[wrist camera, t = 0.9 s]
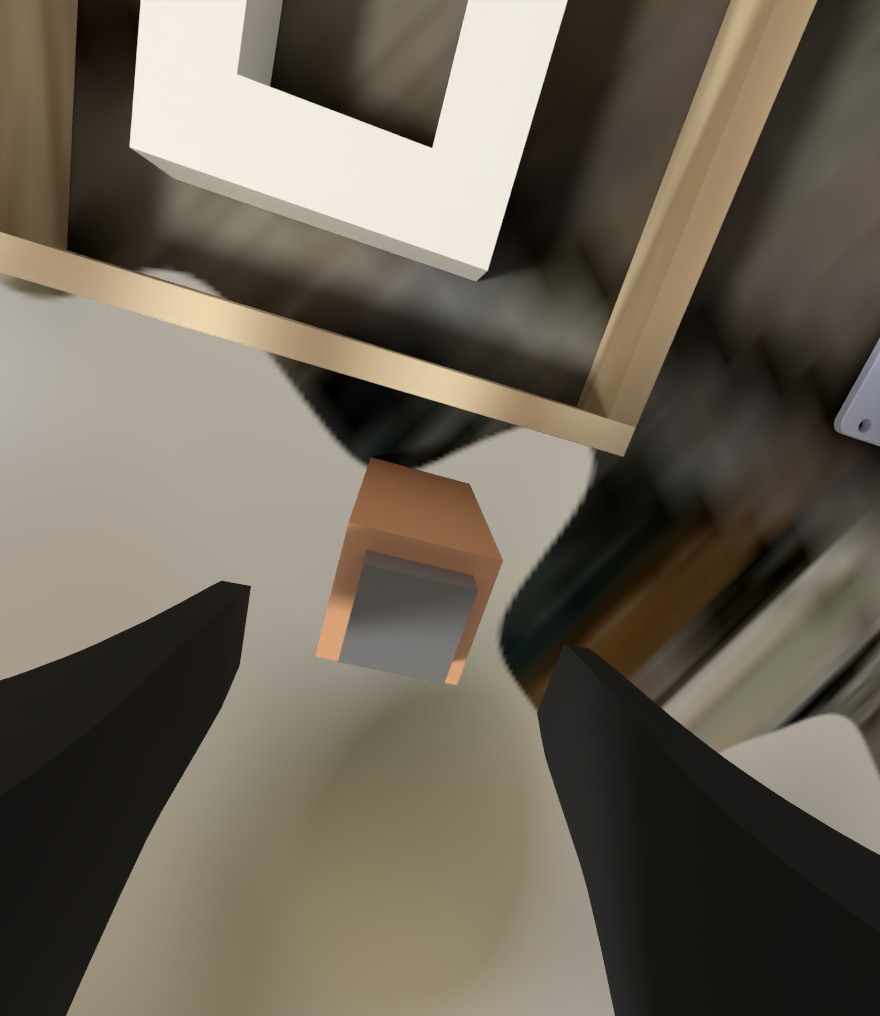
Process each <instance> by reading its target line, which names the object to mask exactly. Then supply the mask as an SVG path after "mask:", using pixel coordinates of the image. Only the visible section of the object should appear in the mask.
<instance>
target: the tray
mask: <svg viewBox="0 0 880 1016" xmlns="http://www.w3.org/2000/svg"><path fill="white" fill-rule="evenodd" d="M567 1H568V0H468V4H467V9H466V13H465V17H464V21H463V25H462V29H461V33H460V37H459V41H458V45H457V49H456V53H455V58H454V62H453V66H452V70H451V74H450V78H449V82H448V86H447V90H446V94H445V98H444V102H443V107H442V111H441V115H440V119H439V123H438V127H437V131H436V135H435V139H434V143H433V147H432V148H430V147H428V146H425V145H422V144H420V143H417V142H414V141H412V140H409V139H407V138H404V137H401V136H399V135H396V134H393V133H391V132H388V131H385V130H383V129H380V128H378V127H375V126H372V125H370V124H367V123H364V122H362V121H359V120H356V119H354V118H351V117H349V116H346V115H343V114H341V113H338V112H335V111H333V110H330V109H327V108H325V107H322V106H320V105H317V104H314V103H312V102H309V101H306V100H304V99H301V98H298V97H296V96H293V95H291V94H288V93H285V92H283V91H280V90H277V89H275V88H272V87H270V84H271V77H272V70H273V64H274V57H275V50H276V44H277V37H278V30H279V23H280V17H281V10H282V3H283V0H141V4H140V17H139V30H138V43H137V56H136V69H135V82H134V96H133V109H132V122H131V135H130V148H131V149H133V150H134V151H136V152H137V153H139V154H140V155H141V156H143V157H144V158H146V159H147V160H148V161H150V162H151V163H153V164H154V165H156V166H157V167H158V168H160V169H161V170H163V171H164V172H165V173H167V174H168V175H170V176H171V177H172V178H174V179H176V180H179V181H182V182H185V183H188V184H191V185H194V186H197V187H200V188H203V189H206V190H209V191H211V192H214V193H217V194H220V195H223V196H226V197H229V198H232V199H235V200H238V201H241V202H244V203H247V204H250V205H253V206H256V207H259V208H261V209H264V210H267V211H270V212H273V213H276V214H279V215H282V216H285V217H288V218H291V219H294V220H297V221H300V222H303V223H306V224H309V225H311V226H314V227H317V228H320V229H323V230H326V231H329V232H332V233H335V234H338V235H341V236H344V237H347V238H350V239H353V240H356V241H359V242H361V243H364V244H367V245H370V246H373V247H376V248H379V249H382V250H385V251H388V252H391V253H394V254H397V255H400V256H403V257H406V258H408V259H411V260H414V261H417V262H420V263H423V264H426V265H429V266H432V267H435V268H438V269H441V270H444V271H447V272H450V273H453V274H456V275H458V276H461V277H464V278H467V279H470V280H473V281H477V280H478V279H479V278H480V277H482V276H483V275H484V274H485V273H486V272H487V271H488V268H489V264H490V261H491V258H492V254H493V251H494V248H495V244H496V241H497V237H498V234H499V231H500V227H501V224H502V221H503V217H504V214H505V210H506V207H507V204H508V200H509V197H510V193H511V190H512V187H513V183H514V180H515V177H516V173H517V170H518V166H519V163H520V160H521V156H522V153H523V150H524V146H525V143H526V139H527V136H528V133H529V129H530V126H531V123H532V119H533V116H534V112H535V109H536V106H537V102H538V99H539V95H540V92H541V89H542V85H543V82H544V79H545V75H546V72H547V68H548V65H549V62H550V58H551V55H552V52H553V48H554V45H555V41H556V38H557V35H558V31H559V28H560V24H561V21H562V18H563V14H564V11H565V8H566V4H567ZM816 2H817V0H731V1H730V4H729V7H728V9H727V12H726V15H725V17H724V20H723V22H722V25H721V28H720V30H719V33H718V36H717V38H716V41H715V44H714V46H713V49H712V51H711V54H710V57H709V59H708V62H707V65H706V67H705V70H704V72H703V75H702V78H701V80H700V83H699V86H698V88H697V91H696V94H695V96H694V99H693V101H692V104H691V107H690V109H689V112H688V115H687V117H686V120H685V122H684V125H683V128H682V130H681V133H680V136H679V138H678V141H677V144H676V146H675V149H674V151H673V154H672V157H671V159H670V162H669V165H668V167H667V170H666V172H665V175H664V178H663V180H662V183H661V186H660V188H659V191H658V194H657V196H656V199H655V201H654V204H653V207H652V209H651V212H650V215H649V217H648V220H647V223H646V225H645V228H644V230H643V233H642V236H641V238H640V241H639V244H638V246H637V249H636V251H635V254H634V257H633V259H632V262H631V265H630V267H629V270H628V273H627V275H626V278H625V280H624V283H623V286H622V288H621V291H620V294H619V296H618V299H617V301H616V304H615V307H614V309H613V312H612V315H611V317H610V320H609V323H608V325H607V328H606V330H605V333H604V336H603V338H602V341H601V344H600V346H599V349H598V351H597V354H596V357H595V359H594V362H593V365H592V367H591V370H590V373H589V375H588V378H587V380H586V383H585V386H584V388H583V391H582V394H581V396H580V399H579V402H578V404H577V407H574V406H571V405H568V404H565V403H561V402H558V401H555V400H552V399H548V398H545V397H542V396H539V395H535V394H532V393H529V392H526V391H522V390H519V389H516V388H513V387H509V386H506V385H503V384H500V383H496V382H493V381H490V380H487V379H483V378H480V377H477V376H474V375H471V374H467V373H464V372H461V371H458V370H454V369H451V368H448V367H445V366H441V365H438V364H435V363H432V362H428V361H425V360H422V359H419V358H415V357H412V356H409V355H406V354H402V353H399V352H396V351H393V350H389V349H386V348H383V347H380V346H376V345H373V344H370V343H367V342H363V341H360V340H357V339H354V338H350V337H347V336H344V335H341V334H337V333H334V332H331V331H328V330H324V329H321V328H318V327H315V326H311V325H308V324H305V323H302V322H299V321H295V320H292V319H289V318H286V317H282V316H279V315H276V314H273V313H269V312H266V311H263V310H260V309H256V308H253V307H250V306H247V305H243V304H240V303H237V302H234V301H230V300H227V299H224V298H221V297H217V296H214V295H211V294H208V293H204V292H201V291H198V290H194V289H191V288H188V287H185V286H182V285H178V284H175V283H172V282H169V281H165V280H162V279H159V278H156V277H152V276H149V275H146V274H143V273H139V272H136V271H133V270H130V269H126V268H123V267H120V266H117V265H114V264H110V263H107V262H104V261H101V260H97V259H94V258H91V257H88V256H84V255H81V254H78V253H75V252H71V251H68V250H67V237H68V214H69V191H70V168H71V146H72V123H73V100H74V77H75V54H76V31H77V8H78V0H0V272H1V273H4V274H8V275H11V276H14V277H18V278H21V279H24V280H28V281H31V282H35V283H38V284H41V285H45V286H48V287H51V288H55V289H58V290H62V291H65V292H68V293H72V294H75V295H79V296H82V297H85V298H89V299H92V300H96V301H99V302H102V303H106V304H109V305H112V306H116V307H119V308H123V309H126V310H130V311H133V312H136V313H140V314H143V315H146V316H150V317H153V318H156V319H160V320H163V321H167V322H170V323H173V324H177V325H180V326H184V327H187V328H190V329H194V330H197V331H200V332H204V333H207V334H211V335H214V336H217V337H221V338H224V339H227V340H231V341H234V342H237V343H241V344H245V345H248V346H251V347H255V348H258V349H261V350H265V351H268V352H271V353H275V354H278V355H281V356H285V357H288V358H292V359H295V360H298V361H302V362H305V363H308V364H312V365H315V366H319V367H322V368H325V369H329V370H332V371H336V372H339V373H342V374H346V375H349V376H352V377H356V378H359V379H363V380H366V381H369V382H373V383H376V384H380V385H383V386H386V387H390V388H393V389H396V390H400V391H403V392H407V393H410V394H413V395H417V396H420V397H423V398H427V399H430V400H434V401H437V402H440V403H444V404H447V405H451V406H454V407H457V408H461V409H464V410H467V411H471V412H474V413H478V414H481V415H484V416H488V417H491V418H494V419H498V420H501V421H505V422H508V423H511V424H515V425H518V426H522V427H525V428H529V429H532V430H535V431H538V432H542V433H545V434H549V435H552V436H556V437H559V438H562V439H566V440H569V441H572V442H576V443H579V444H582V445H586V446H589V447H593V448H596V449H599V450H603V451H606V452H609V453H613V454H616V455H620V456H623V457H624V454H625V452H626V449H627V447H628V445H629V442H630V440H631V438H632V435H633V433H634V431H635V428H636V426H637V424H638V421H639V419H640V416H641V414H642V412H643V409H644V407H645V405H646V402H647V400H648V398H649V395H650V393H651V391H652V388H653V386H654V383H655V381H656V379H657V376H658V374H659V372H660V369H661V367H662V365H663V362H664V360H665V358H666V355H667V353H668V350H669V348H670V346H671V343H672V341H673V339H674V336H675V334H676V332H677V329H678V327H679V325H680V322H681V320H682V317H683V315H684V313H685V310H686V308H687V306H688V303H689V301H690V299H691V296H692V294H693V292H694V289H695V287H696V284H697V282H698V280H699V277H700V275H701V273H702V270H703V268H704V266H705V263H706V261H707V259H708V256H709V254H710V251H711V249H712V247H713V244H714V242H715V240H716V237H717V235H718V233H719V230H720V228H721V226H722V223H723V221H724V218H725V216H726V214H727V211H728V209H729V207H730V204H731V202H732V200H733V197H734V195H735V193H736V190H737V188H738V185H739V183H740V181H741V178H742V176H743V174H744V171H745V169H746V167H747V164H748V162H749V160H750V157H751V155H752V152H753V150H754V148H755V145H756V143H757V141H758V138H759V136H760V134H761V131H762V129H763V127H764V124H765V122H766V119H767V117H768V115H769V112H770V110H771V108H772V105H773V103H774V101H775V98H776V96H777V94H778V91H779V89H780V86H781V84H782V82H783V79H784V77H785V75H786V72H787V70H788V68H789V65H790V63H791V61H792V58H793V56H794V53H795V51H796V49H797V46H798V44H799V42H800V39H801V37H802V35H803V32H804V30H805V28H806V25H807V23H808V21H809V18H810V16H811V13H812V11H813V9H814V6H815V4H816Z"/></svg>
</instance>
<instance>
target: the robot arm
mask: <svg viewBox="0 0 880 1016" xmlns="http://www.w3.org/2000/svg"><path fill="white" fill-rule="evenodd" d="M861 422H862V426H861V427H860V428H859V429H858V427H859V424H860V423H861ZM834 428H835V430H836V431H837V432H838V433H840V434H843V435H846V436H849V437H852V438H855V439H858V440H861V441H865V442H868V443H871V444H874V445H877V446H880V338H879V340H878V342H877V344H876V346H875V348H874V349H873V351H872V353H871V355H870V357H869V358H868V360H867V362H866V364H865V366H864V367H863V369H862V371H861V373H860V375H859V376H858V378H857V380H856V382H855V384H854V386H853V387H852V389H851V391H850V393H849V395H848V396H847V398H846V400H845V402H844V404H843V405H842V407H841V409H840V411H839V413H838V414H837V416H836V418H835V421H834ZM250 589H251V586H247V585H242V584H236V583H231V582H226V581H220V582H218V583H216V584H214V585H212V586H210V587H208V588H207V589H205V590H203V591H201V592H199V593H198V594H196V595H194V596H192V597H190V598H188V599H186V600H185V601H183V602H181V603H179V604H177V605H175V606H173V607H171V608H170V609H168V610H166V611H164V612H162V613H160V614H158V615H156V616H154V617H152V618H150V619H148V620H146V621H144V622H142V623H140V624H138V625H136V626H134V627H132V628H130V629H127V630H125V631H123V632H121V633H119V634H117V635H115V636H112V637H110V638H108V639H106V640H104V641H102V642H100V643H97V644H95V645H93V646H91V647H88V648H86V649H84V650H81V651H79V652H76V653H74V654H71V655H69V656H67V657H64V658H62V659H59V660H56V661H54V662H51V663H48V664H46V665H43V666H40V667H38V668H35V669H33V670H30V671H27V672H24V673H21V674H18V675H16V676H13V677H10V678H6V679H3V680H1V681H0V1016H66V1014H67V1012H68V1010H69V1007H70V1005H71V1003H72V1001H73V998H74V996H75V994H76V992H77V989H78V987H79V985H80V982H81V980H82V978H83V976H84V973H85V971H86V969H87V967H88V964H89V962H90V960H91V958H92V956H93V954H94V952H95V949H96V947H97V945H98V943H99V941H100V938H101V936H102V934H103V932H104V930H105V927H106V925H107V923H108V921H109V918H110V916H111V914H112V912H113V910H114V908H115V905H116V903H117V901H118V899H119V897H120V895H121V892H122V890H123V888H124V886H125V884H126V882H127V880H128V878H129V875H130V873H131V871H132V869H133V867H134V865H135V863H136V861H137V858H138V856H139V854H140V852H141V850H142V848H143V846H144V844H145V841H146V839H147V837H148V836H149V834H150V832H151V830H152V828H153V826H154V824H155V823H156V821H157V819H158V817H159V815H160V813H161V811H162V810H163V808H164V806H165V804H166V803H167V801H168V799H169V798H170V796H171V794H172V792H173V791H174V789H175V787H176V785H177V784H178V782H179V780H180V779H181V777H182V775H183V773H184V772H185V770H186V768H187V767H188V765H189V763H190V761H191V760H192V758H193V756H194V755H195V753H196V751H197V749H198V748H199V746H200V744H201V742H202V741H203V739H204V737H205V735H206V734H207V732H208V730H209V728H210V727H211V725H212V723H213V721H214V720H215V718H216V716H217V714H218V713H219V711H220V709H221V707H222V705H223V703H224V700H225V698H226V696H227V694H228V691H229V689H230V687H231V684H232V682H233V680H234V677H235V675H236V673H237V670H238V668H239V665H240V659H241V652H242V644H243V638H244V631H245V624H246V617H247V610H248V603H249V595H250ZM537 715H538V721H539V726H540V732H541V738H542V743H543V747H544V753H545V757H546V760H547V763H548V767H549V770H550V773H551V776H552V779H553V782H554V786H555V789H556V792H557V795H558V798H559V801H560V804H561V807H562V810H563V813H564V816H565V819H566V822H567V825H568V828H569V831H570V834H571V837H572V840H573V843H574V846H575V849H576V852H577V855H578V858H579V861H580V865H581V868H582V872H583V875H584V879H585V882H586V886H587V890H588V893H589V898H590V902H591V907H592V911H593V915H594V920H595V924H596V928H597V932H598V936H599V941H600V946H601V950H602V955H603V960H604V965H605V969H606V974H607V979H608V984H609V989H610V994H611V998H612V1003H613V1008H614V1013H615V1016H880V855H879V854H877V853H875V852H873V851H871V850H869V849H867V848H865V847H864V846H862V845H860V844H859V843H857V842H855V841H853V840H852V839H850V838H848V837H846V836H844V835H843V834H841V833H839V832H838V831H836V830H834V829H832V828H831V827H829V826H827V825H826V824H824V823H823V822H821V821H819V820H818V819H816V818H814V817H813V816H811V815H809V814H808V813H806V812H805V811H803V810H801V809H800V808H798V807H797V806H795V805H793V804H791V803H790V802H788V801H787V800H785V799H784V798H782V797H781V796H779V795H778V794H776V793H775V792H773V791H771V790H770V789H768V788H767V787H765V786H764V785H762V784H761V783H760V782H758V781H757V780H755V779H754V778H752V777H751V776H749V775H748V774H747V773H745V772H744V771H742V770H741V769H739V768H738V767H736V766H735V765H734V764H732V763H731V762H729V761H728V760H727V759H725V758H724V757H723V756H721V755H720V754H718V753H717V752H716V751H714V750H713V749H712V748H710V747H709V746H708V745H707V744H705V743H704V742H703V741H701V740H700V739H699V738H698V737H696V736H695V735H694V734H692V733H691V732H690V731H689V730H687V729H686V728H685V727H684V726H682V725H681V724H680V723H679V722H677V721H676V720H675V719H674V718H672V717H671V716H670V715H669V714H668V713H666V712H665V711H664V710H663V709H662V708H660V707H659V706H658V705H657V704H656V703H654V702H653V701H652V700H651V699H650V698H649V697H647V696H646V695H645V694H644V693H643V692H642V691H640V690H639V689H638V688H637V687H636V686H634V685H633V684H632V683H631V682H630V681H629V680H627V679H626V678H625V677H624V676H623V675H622V674H620V673H619V672H618V671H617V670H616V669H614V668H613V667H612V666H611V665H610V664H608V663H607V662H606V661H605V660H603V659H602V658H601V657H600V656H598V655H597V654H596V653H594V652H593V651H591V650H590V649H588V648H583V647H577V646H572V645H566V644H564V646H563V649H562V651H561V654H560V656H559V659H558V661H557V664H556V666H555V669H554V672H553V674H552V677H551V679H550V682H549V684H548V687H547V689H546V692H545V695H544V697H543V700H542V702H541V705H540V707H539V710H538V712H537Z"/></svg>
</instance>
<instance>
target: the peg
mask: <svg viewBox="0 0 880 1016" xmlns="http://www.w3.org/2000/svg"><path fill="white" fill-rule="evenodd" d="M502 561H503V560H502V558H501V555H500V553H499V551H498V548H497V546H496V544H495V541H494V539H493V537H492V535H491V532H490V530H489V528H488V525H487V523H486V521H485V519H484V516H483V514H482V512H481V509H480V507H479V505H478V502H477V500H476V498H475V495H474V493H473V491H472V488H471V486H470V484H468V483H464V482H460V481H456V480H453V479H449V478H446V477H442V476H438V475H434V474H431V473H427V472H423V471H420V470H416V469H412V468H409V467H405V466H401V465H398V464H394V463H390V462H387V461H383V460H379V459H375V458H372V457H371V458H370V461H369V464H368V467H367V470H366V473H365V476H364V479H363V482H362V485H361V488H360V491H359V494H358V497H357V500H356V503H355V506H354V509H353V512H352V514H351V517H350V520H349V524H348V528H347V532H346V536H345V540H344V544H343V548H342V552H341V556H340V560H339V564H338V568H337V572H336V576H335V580H334V584H333V588H332V592H331V596H330V600H329V604H328V608H327V611H326V615H325V619H324V624H323V627H322V632H321V635H320V640H319V644H318V647H317V651H316V655H315V656H316V657H320V658H325V659H330V660H335V661H338V662H341V663H347V664H351V665H357V666H362V667H367V668H372V669H376V670H381V671H386V672H391V673H396V674H401V675H406V676H411V677H416V678H421V679H426V680H430V681H435V682H440V683H449V684H454V685H457V683H458V680H459V678H460V675H461V672H462V669H463V667H464V664H465V661H466V659H467V656H468V653H469V651H470V648H471V645H472V642H473V640H474V637H475V634H476V632H477V628H478V626H479V624H480V621H481V618H482V615H483V613H484V610H485V607H486V604H487V602H488V599H489V596H490V594H491V591H492V588H493V586H494V583H495V580H496V578H497V575H498V572H499V569H500V567H501V564H502Z"/></svg>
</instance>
